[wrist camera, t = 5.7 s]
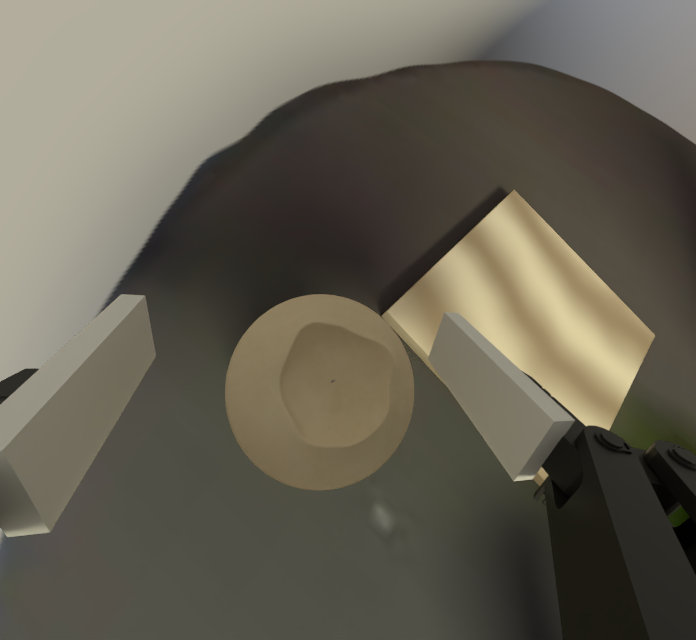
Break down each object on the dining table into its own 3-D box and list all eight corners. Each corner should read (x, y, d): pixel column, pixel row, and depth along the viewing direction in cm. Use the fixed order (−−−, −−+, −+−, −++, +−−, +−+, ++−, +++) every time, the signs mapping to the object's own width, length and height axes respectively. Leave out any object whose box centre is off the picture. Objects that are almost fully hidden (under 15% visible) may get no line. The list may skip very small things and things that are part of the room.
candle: (231, 368, 16) (179, 316, 7) (323, 331, 18) (383, 250, 8) (270, 467, 15) (272, 567, 6) (362, 418, 17) (475, 433, 8)
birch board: (505, 197, 25) (514, 189, 24) (640, 338, 24) (655, 335, 23) (381, 316, 19) (386, 311, 18) (555, 503, 18) (570, 508, 18)
